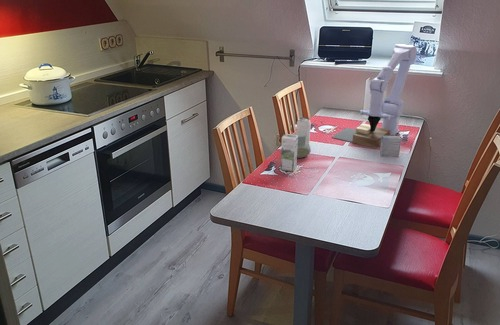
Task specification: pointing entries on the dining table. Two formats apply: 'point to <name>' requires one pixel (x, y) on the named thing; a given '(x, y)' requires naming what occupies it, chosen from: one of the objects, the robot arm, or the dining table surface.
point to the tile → (363, 129)
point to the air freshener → (302, 146)
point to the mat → (345, 135)
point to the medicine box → (390, 146)
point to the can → (304, 127)
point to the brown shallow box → (371, 137)
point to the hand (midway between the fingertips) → (372, 131)
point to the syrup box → (289, 152)
